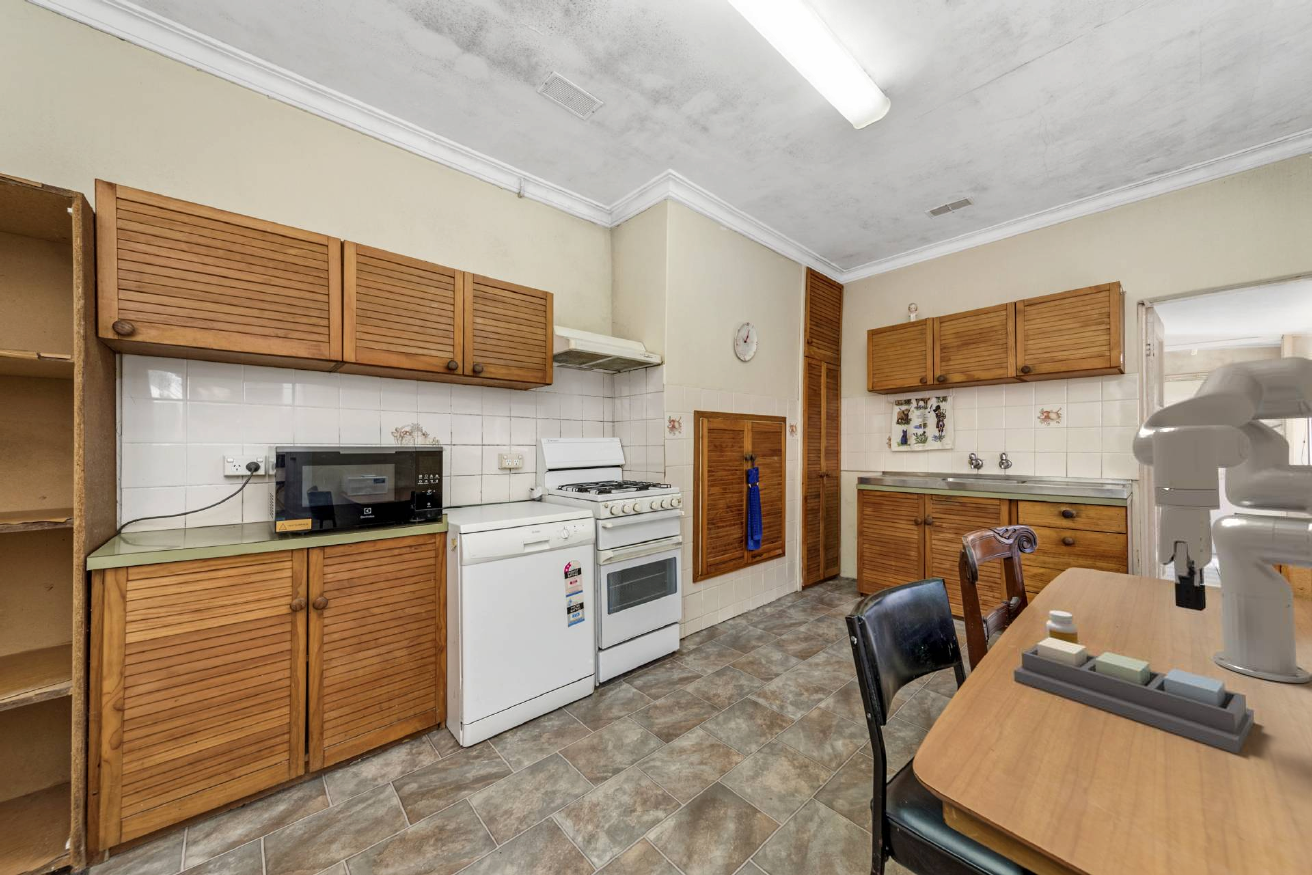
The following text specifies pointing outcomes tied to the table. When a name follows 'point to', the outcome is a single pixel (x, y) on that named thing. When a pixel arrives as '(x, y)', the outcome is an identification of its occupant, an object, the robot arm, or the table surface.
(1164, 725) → the grey compartment tray
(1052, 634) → the supplement bottle
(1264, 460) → the robot arm
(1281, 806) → the table surface
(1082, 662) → the cream key
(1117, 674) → the sage key
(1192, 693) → the blue key
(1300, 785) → the table surface
